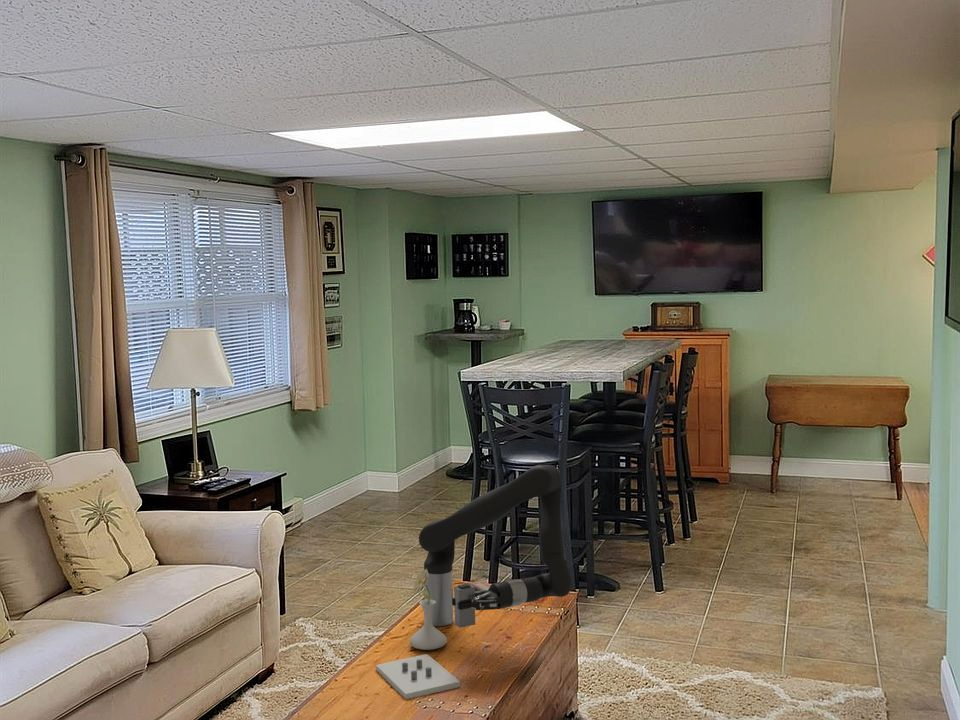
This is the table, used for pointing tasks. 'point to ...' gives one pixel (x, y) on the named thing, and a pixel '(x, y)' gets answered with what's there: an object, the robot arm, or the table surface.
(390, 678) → the tray
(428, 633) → the flower in vase
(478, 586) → the packaged product
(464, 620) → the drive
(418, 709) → the table surface
